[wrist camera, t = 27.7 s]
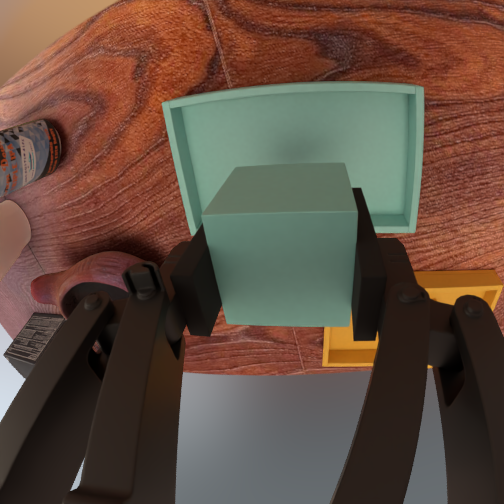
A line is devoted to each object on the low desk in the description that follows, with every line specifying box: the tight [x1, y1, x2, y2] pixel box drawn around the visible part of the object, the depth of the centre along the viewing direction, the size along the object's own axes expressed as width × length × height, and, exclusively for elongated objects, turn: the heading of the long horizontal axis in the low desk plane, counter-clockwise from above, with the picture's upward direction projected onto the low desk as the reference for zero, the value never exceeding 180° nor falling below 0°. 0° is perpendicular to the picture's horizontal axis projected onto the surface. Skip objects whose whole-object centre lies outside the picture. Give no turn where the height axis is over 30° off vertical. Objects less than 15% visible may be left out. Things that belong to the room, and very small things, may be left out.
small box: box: [4, 313, 66, 379], centre depth 41 cm, size 11×6×10 cm, turn 103°
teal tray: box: [162, 81, 424, 235], centre depth 22 cm, size 18×11×3 cm, turn 97°
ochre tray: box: [322, 270, 503, 366], centre depth 29 cm, size 18×11×3 cm, turn 97°
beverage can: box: [0, 119, 61, 198], centre depth 21 cm, size 6×7×12 cm
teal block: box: [201, 162, 358, 327], centre depth 13 cm, size 5×5×5 cm
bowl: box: [31, 251, 145, 320], centre depth 32 cm, size 16×13×8 cm
